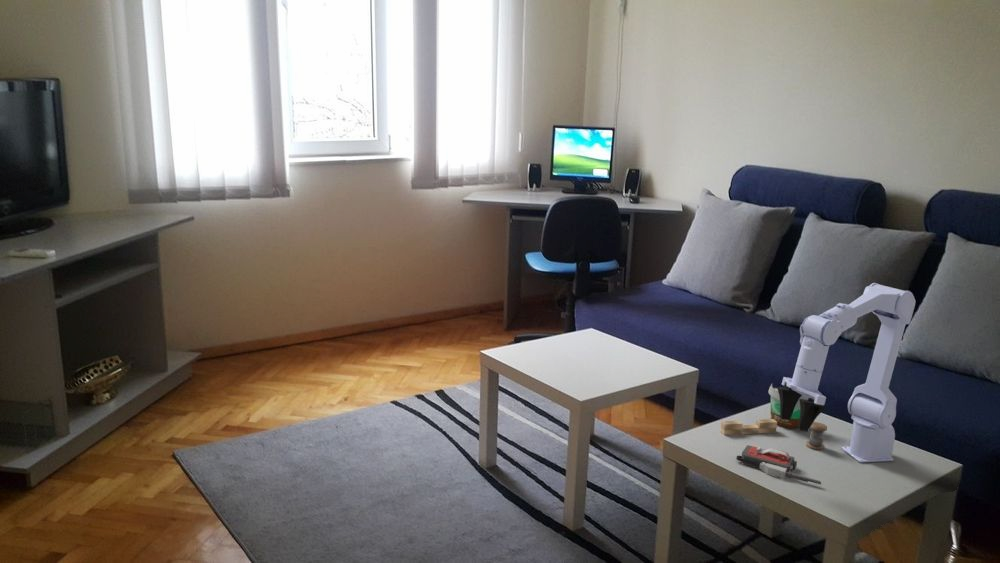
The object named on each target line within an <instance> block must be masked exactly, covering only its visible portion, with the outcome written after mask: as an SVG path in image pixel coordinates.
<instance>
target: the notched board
mask: <svg viewBox="0 0 1000 563" xmlns="http://www.w3.org/2000/svg"><path fill="white" fill-rule="evenodd" d="M720 423H721V425H720V430H719V431H720V432H719V433H721V434H722V435H724V436H726V435H727V436H728V435H729V436H730V435H748V434H749V435H750V434H751V435H752V434H770V433H771V434H773V433H777V428H778V426H777V422H776V421H775V420H774V419H771V418H769V419H768V418H767V419H766V418H764V419H756V420H755V424H743V423H742V422H741V421H740V420H723V421H721V422H720Z"/></svg>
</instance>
